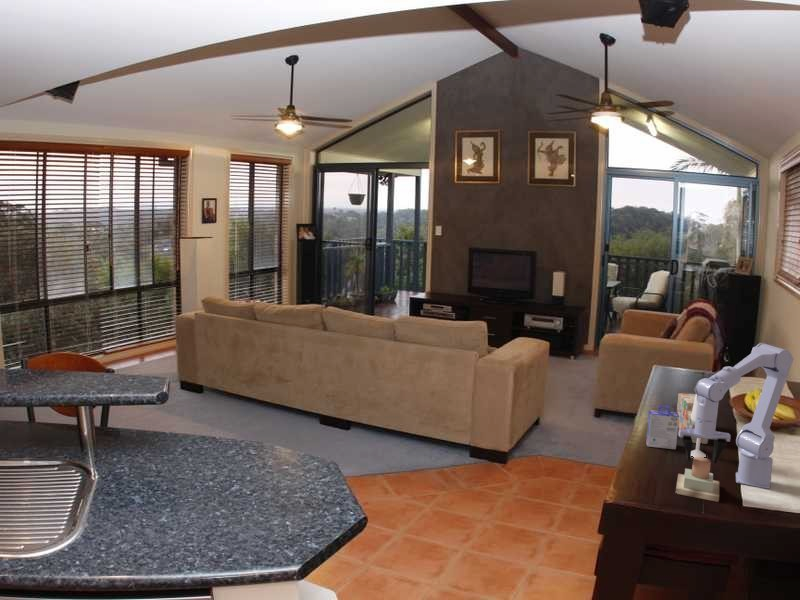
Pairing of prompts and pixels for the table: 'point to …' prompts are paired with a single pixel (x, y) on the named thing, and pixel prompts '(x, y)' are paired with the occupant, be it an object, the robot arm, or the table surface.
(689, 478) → the green block
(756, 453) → the robot arm
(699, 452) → the champagne flute
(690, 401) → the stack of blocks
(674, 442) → the ink cartridge box
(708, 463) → the terracotta cylinder
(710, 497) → the birch slab
